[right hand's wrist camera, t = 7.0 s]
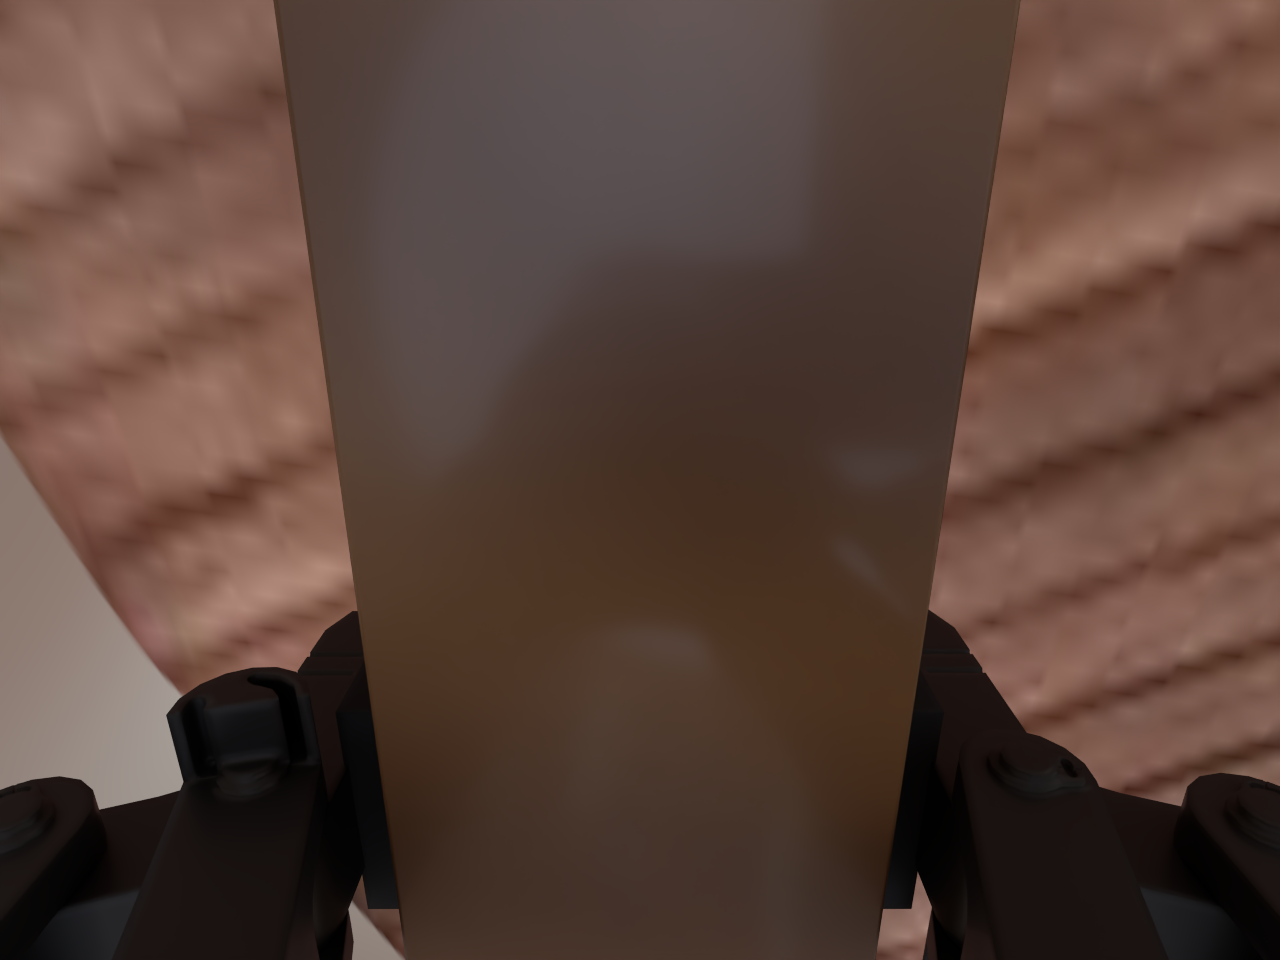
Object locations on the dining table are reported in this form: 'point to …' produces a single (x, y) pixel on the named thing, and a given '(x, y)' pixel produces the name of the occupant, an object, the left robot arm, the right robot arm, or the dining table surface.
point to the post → (644, 443)
